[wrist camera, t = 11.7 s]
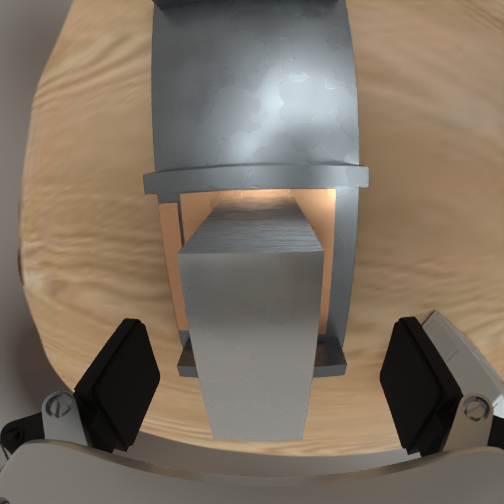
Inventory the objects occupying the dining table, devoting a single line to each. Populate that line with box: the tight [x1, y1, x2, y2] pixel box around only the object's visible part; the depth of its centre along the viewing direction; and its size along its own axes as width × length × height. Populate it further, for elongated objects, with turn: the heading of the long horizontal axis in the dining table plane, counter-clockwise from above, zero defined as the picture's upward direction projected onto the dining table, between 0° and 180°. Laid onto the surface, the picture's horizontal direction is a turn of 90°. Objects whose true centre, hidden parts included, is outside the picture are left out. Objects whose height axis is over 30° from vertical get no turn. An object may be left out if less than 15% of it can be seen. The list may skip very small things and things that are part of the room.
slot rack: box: [143, 0, 369, 378], centre depth 13 cm, size 12×37×4 cm, turn 2°
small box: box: [422, 311, 504, 418], centre depth 16 cm, size 8×6×10 cm
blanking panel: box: [177, 197, 324, 441], centre depth 13 cm, size 4×9×9 cm, turn 2°
